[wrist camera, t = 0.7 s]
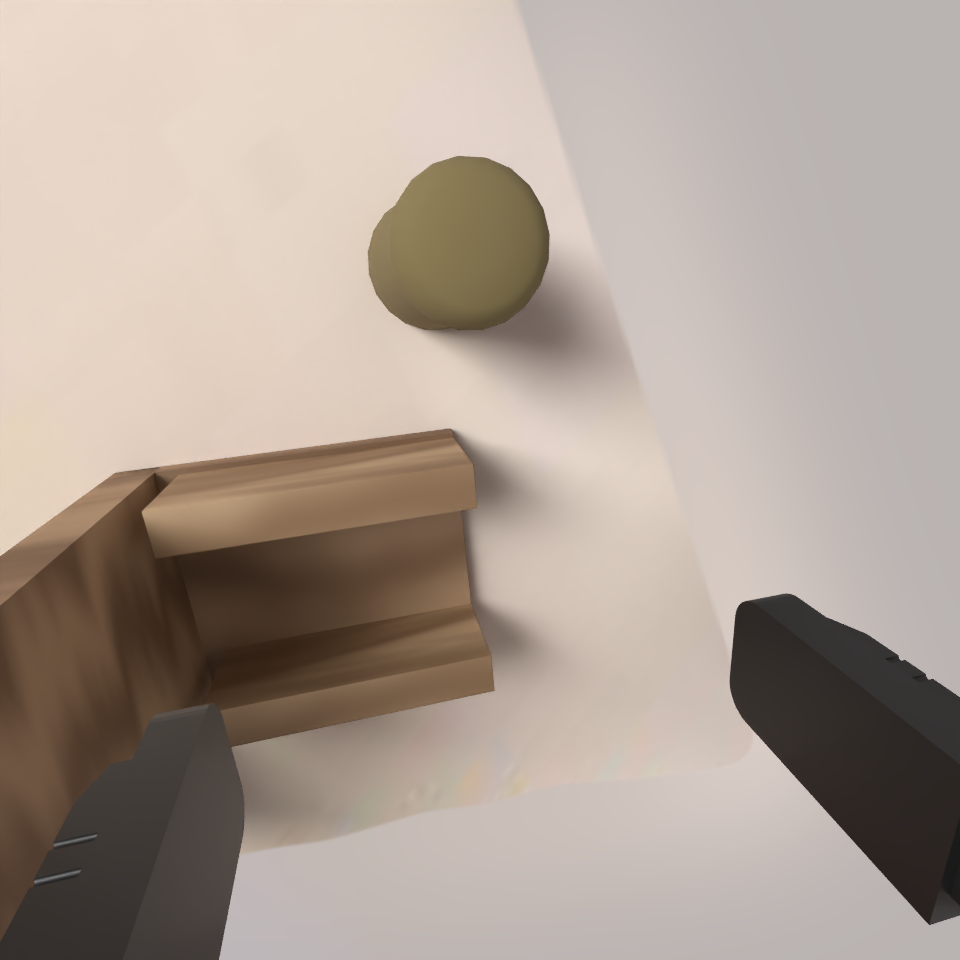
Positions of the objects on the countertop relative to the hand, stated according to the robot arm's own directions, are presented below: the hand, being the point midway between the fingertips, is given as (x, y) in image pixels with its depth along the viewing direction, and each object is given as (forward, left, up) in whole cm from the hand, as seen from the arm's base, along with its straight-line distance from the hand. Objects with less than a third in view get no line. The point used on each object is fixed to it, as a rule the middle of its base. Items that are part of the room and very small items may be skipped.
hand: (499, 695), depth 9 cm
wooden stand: (+7, -5, -22) cm, 23 cm away
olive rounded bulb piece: (-7, +3, -22) cm, 23 cm away
